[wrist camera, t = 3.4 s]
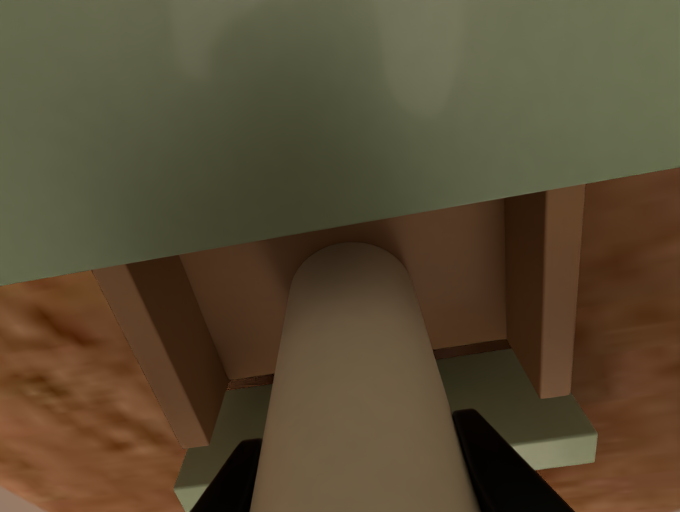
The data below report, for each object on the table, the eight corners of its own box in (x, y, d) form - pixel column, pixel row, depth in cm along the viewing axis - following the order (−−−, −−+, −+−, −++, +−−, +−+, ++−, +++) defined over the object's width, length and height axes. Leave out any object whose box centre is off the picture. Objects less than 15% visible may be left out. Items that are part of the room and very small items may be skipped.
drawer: (536, 458, 18) (584, 559, 14) (251, 494, 19) (232, 597, 15) (551, -75, 10) (667, -133, 6) (51, 35, 11) (-82, 36, 7)
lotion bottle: (438, 280, 13) (689, 887, 4) (367, 363, 14) (423, 953, 5) (331, 217, 12) (315, 822, 3) (267, 313, 13) (117, 924, 4)
